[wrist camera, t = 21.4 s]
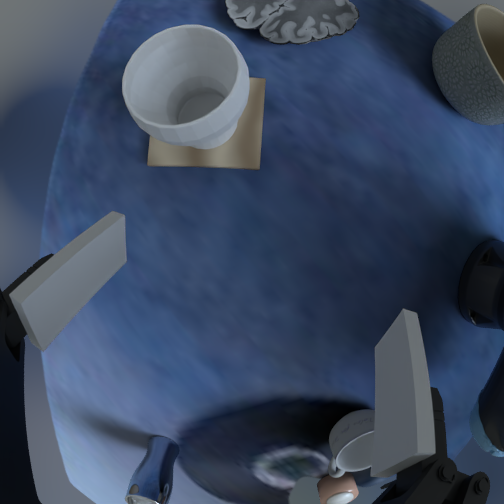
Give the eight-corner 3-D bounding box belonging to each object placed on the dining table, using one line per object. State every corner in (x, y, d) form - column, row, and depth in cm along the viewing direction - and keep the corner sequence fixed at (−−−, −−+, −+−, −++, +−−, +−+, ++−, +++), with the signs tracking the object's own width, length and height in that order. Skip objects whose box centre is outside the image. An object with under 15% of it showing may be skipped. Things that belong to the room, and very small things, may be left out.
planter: (418, 25, 31) (465, -17, 16) (489, 68, 32) (540, 46, 17) (417, 106, 34) (482, 76, 19) (491, 146, 35) (555, 139, 20)
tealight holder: (357, 469, 46) (364, 487, 41) (347, 488, 47) (352, 505, 42) (321, 473, 46) (326, 493, 40) (313, 492, 47) (317, 510, 42)
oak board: (265, 82, 34) (265, 78, 32) (259, 170, 36) (259, 168, 35) (161, 82, 34) (157, 78, 32) (151, 166, 36) (147, 165, 34)
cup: (250, 81, 33) (250, 16, 18) (249, 161, 34) (247, 134, 20) (168, 84, 32) (125, 29, 18) (163, 162, 34) (109, 141, 20)
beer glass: (140, 433, 44) (116, 491, 29) (175, 434, 44) (157, 497, 29) (153, 456, 45) (134, 512, 30) (186, 457, 45) (173, 517, 30)
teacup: (360, 391, 42) (376, 421, 34) (392, 415, 43) (409, 442, 35) (299, 439, 44) (305, 471, 36) (336, 458, 45) (345, 487, 37)
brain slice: (196, 19, 32) (193, 8, 29) (260, -38, 30) (261, -49, 27) (314, 79, 34) (318, 71, 31) (366, 14, 32) (372, 5, 29)
